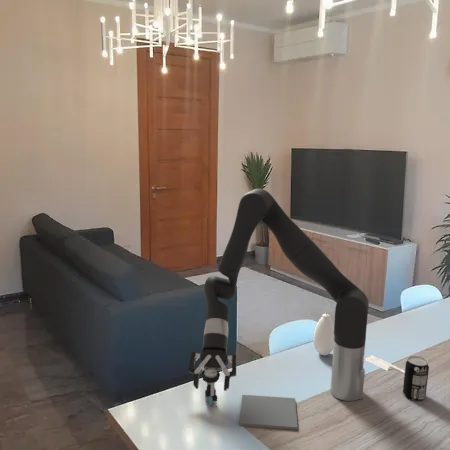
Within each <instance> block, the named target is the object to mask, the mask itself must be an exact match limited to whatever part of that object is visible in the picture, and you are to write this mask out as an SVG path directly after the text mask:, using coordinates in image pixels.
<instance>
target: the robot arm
mask: <svg viewBox="0 0 450 450" xmlns="http://www.w3.org/2000/svg"><path fill="white" fill-rule="evenodd" d="M260 222H262V223H263V224H264V226H266V227H267V228H268V229H269V231H270V232H272V234H273V236H274V237H275V239H276V241H277V243H278V245H279V247H280V249H281V250H282V252H283V254H284V256H285V257H286V259H288V260H289V262H290V263H291V264H292V265H293V266H294V267H295V268H296V269H297V270H298V271H299V272H300V273H301V274H302V275H304V276H305V277H307V278H309V279H310V280H312V281H314V282H315V283H317V284H319V286H321V287H322V288H323V289H324V290H325V291H326V292H327V294H329V295H330V296H331V298H332V299H333V300H334V302H335V303H336V304H335V307H334V308H335V309H334V322H333V324H334V348H333V350H332V364H331V377H330V379H331V380H330V381H331V382H330V394H331V395H332V396H333V397H334V398H336V399H338V400H342V401H345V402H354V401H357V400H362V399H363V396H364V394H363V393H364V385H365V384H364V383H365V372H366V371H365V368H364V361H365V351H366V339H367V327H368V316H369V315H368V314H369V306H370V305H369V304H370V303H369V299H368V296H367V295H366V294H365V293H364V292H363V291H362V290H361V288H359V287H358V286H357V285H355V284H354V283H353V282H352V281H351V280H350V279H349V278H347V276H345V275H344V274H343V273H342V272H341V271H340V270H339V269H338V268H337V267H336V265H335V264H334V263H333V262H332V261H331V260H330V259H329V258H328V256H327V255H326V254H325V253H324V252H323V250H321V249H320V247H319V245H317V244H316V243H315V242H314V241H313V240H312V239H311V238H310V237H309V236H308V235H307V234H306V233H305V232H304V231H303V230H302V229H301V228H300V227H299V226H298V225H297V224H296V223H295V222H294V221H293V220H292V219H291V218H290V216H288V214H287V213H286V212H285V211H284V210H283V208H282V207H281V206H280V205H279V203H278V202H277V200H276V199H275V197H274V196H273V195H272V194H270V192H268V191H267V190H265V189H263V188H255V189H254V188H253V189H251V190H250V191H248V192H246V193H245V194H244V195H242V197H241V199H240V200H239V204H238V207H237V212H236V217H235V221H234V224H233V227H232V231H231V234H230V237H229V240H228V242H227V244H226V246H225V248H224V251H223V254H222V257H221V258H220V261H219V263H218V266H217V268H218V269H217V270H218V272H219V273H220V274H221V275H223V276H225V277H226V278H224V277H220V276H217V275H210V276H209V277H207V278H206V280H205V282H204V289H203V290H204V296H205V301H206V308H207V312H206V318H205V319H206V321H205V325H204V331H203V340H202V349H201V353H197V352H196V351H192V352H191V353H190V354H191V355H190V360H189V365H188V372H189V373H190V374H192V375H193V382H192V383H193V384H192V385H193V387H194V388H195V389H197V390H198V389H199V385H200V383H199V382H200V374H202V372H203V371H205V370H206V369H207V368H214V369H216V370H217V371H218V370H219V369H220V370H221V371H222V373H223V374H224V380H223V381H224V383H223V384H224V385H223V391H224V392H227V390H229V389H230V379H231V378H232V377H236V376H237V355H236V354H232V355H228V353H227V352H228V351H227V349H228V340H229V315H230V308H229V306H228V305H227V304H225V303H224V302H221V301H220V300H222V301H228V302H229V301H231V300H233V298H234V297H235V296H236V293H237V292H236V291H237V285H238V279H239V278H238V277H239V274H240V271H241V268H242V266H243V264H244V261H245V259H246V257H247V253H248V249H249V244H250V240H251V237H252V235H253V233H254V231H255V229H256V228H257V226H258V225H259V223H260ZM198 359H200V360H201V362H200V363H199V365H198V366H197V368H196V369H195V367H196V362H197V361H198ZM228 360H229V363H231V371H229V370H228V369H227V367H226V365H225V364H226V362H227V361H228Z"/></svg>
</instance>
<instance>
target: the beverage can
mask: <svg viewBox="0 0 450 450" xmlns="http://www.w3.org/2000/svg"><path fill="white" fill-rule="evenodd" d="M428 364H429V362H428V360H427V359H425V358H424V357H421V356H416V355H412V356H409V357H407V360H406V362H405V367H404V368H405V369H404V370H405V374H403V375H404V378H403V386H402V393H403V395H404V397H406V399H409V400H410V401H414V402H415V401H416V402H420V401H423V400H425V398H426V396H427V389H428V388H427V387H428V379H429V370H430V366H429V365H428Z"/></svg>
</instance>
